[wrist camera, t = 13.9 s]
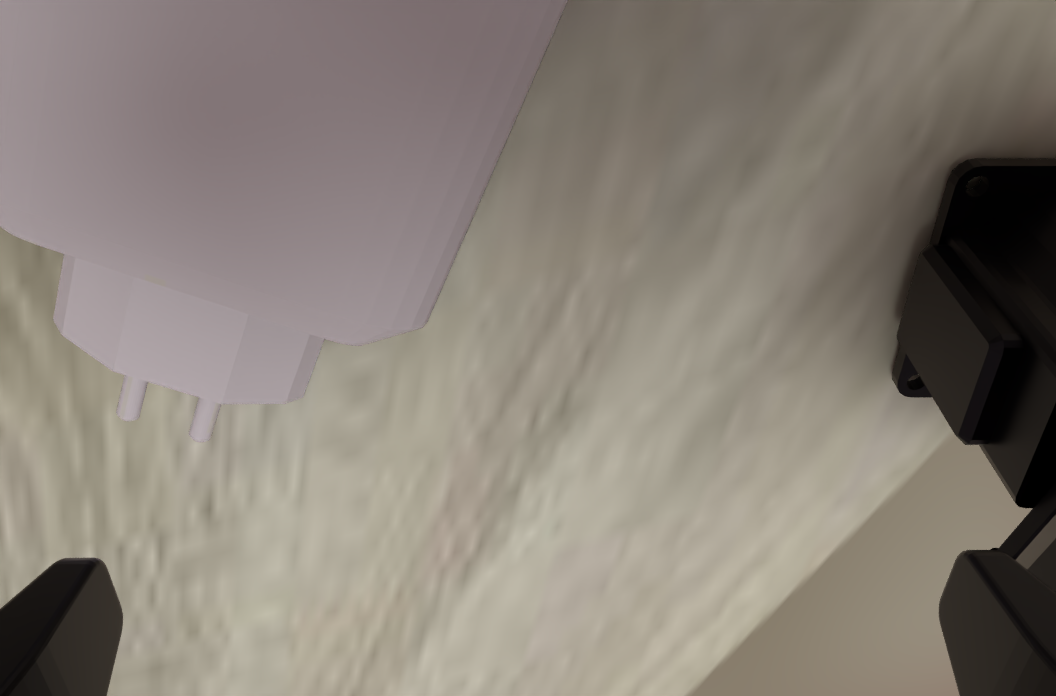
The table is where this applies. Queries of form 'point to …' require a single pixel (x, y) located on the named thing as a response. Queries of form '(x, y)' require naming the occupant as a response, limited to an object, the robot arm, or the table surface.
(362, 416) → the table surface
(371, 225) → the charger
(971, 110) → the table surface
